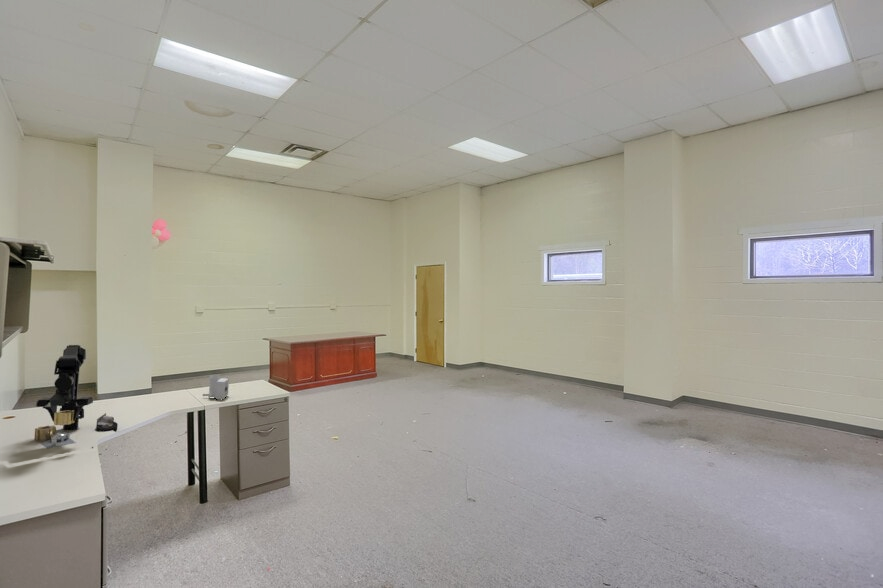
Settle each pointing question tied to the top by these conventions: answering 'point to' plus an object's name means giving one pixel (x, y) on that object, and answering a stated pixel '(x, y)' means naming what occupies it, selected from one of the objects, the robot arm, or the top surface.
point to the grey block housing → (218, 387)
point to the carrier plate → (48, 443)
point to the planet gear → (63, 417)
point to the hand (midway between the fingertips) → (64, 421)
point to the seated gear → (44, 433)
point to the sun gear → (61, 436)
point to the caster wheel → (106, 423)
